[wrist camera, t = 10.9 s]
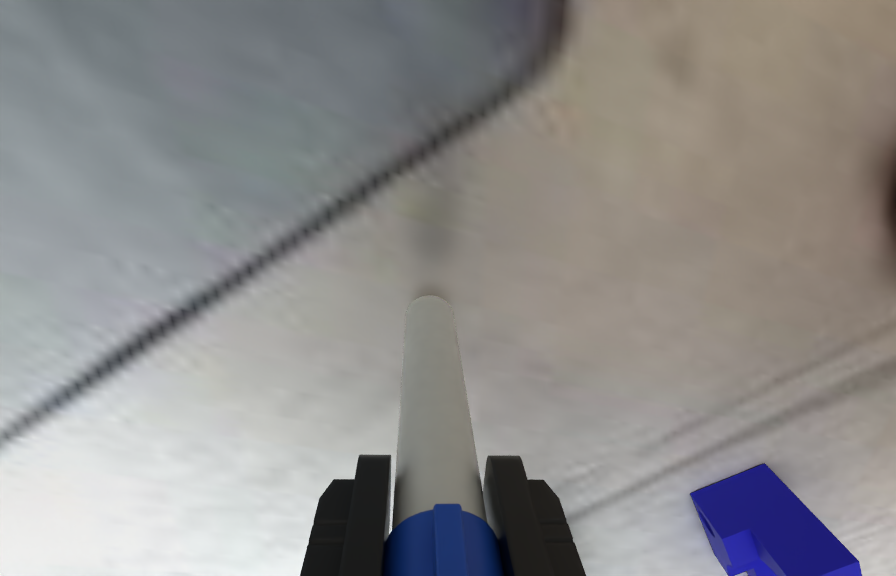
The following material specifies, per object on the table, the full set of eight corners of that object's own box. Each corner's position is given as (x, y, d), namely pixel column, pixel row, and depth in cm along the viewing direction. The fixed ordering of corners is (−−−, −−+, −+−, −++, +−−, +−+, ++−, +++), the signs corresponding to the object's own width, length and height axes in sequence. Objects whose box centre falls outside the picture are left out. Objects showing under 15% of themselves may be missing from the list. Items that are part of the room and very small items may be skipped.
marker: (401, 340, 19) (364, 846, 6) (402, 277, 18) (361, 728, 5) (455, 341, 19) (530, 834, 6) (460, 279, 18) (562, 721, 5)
